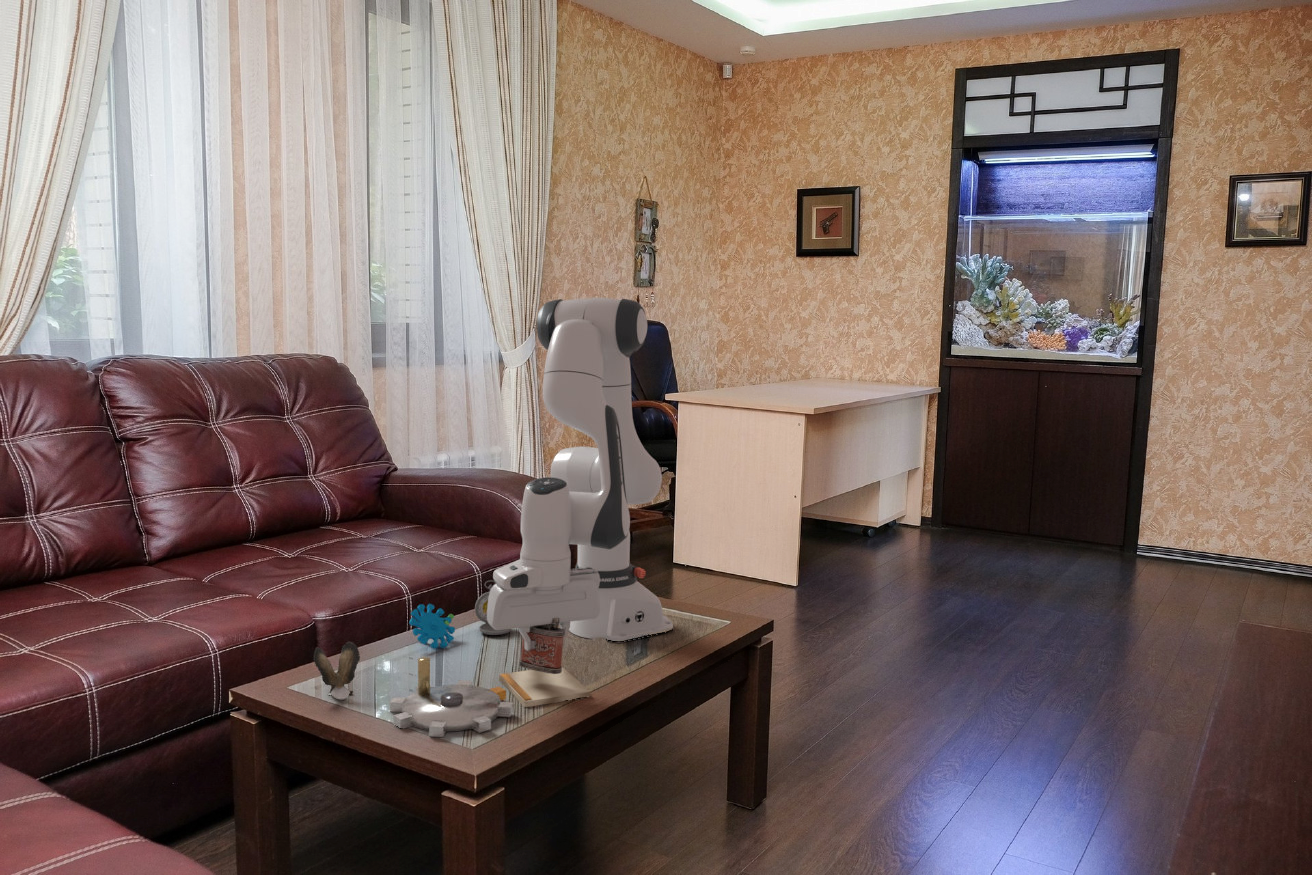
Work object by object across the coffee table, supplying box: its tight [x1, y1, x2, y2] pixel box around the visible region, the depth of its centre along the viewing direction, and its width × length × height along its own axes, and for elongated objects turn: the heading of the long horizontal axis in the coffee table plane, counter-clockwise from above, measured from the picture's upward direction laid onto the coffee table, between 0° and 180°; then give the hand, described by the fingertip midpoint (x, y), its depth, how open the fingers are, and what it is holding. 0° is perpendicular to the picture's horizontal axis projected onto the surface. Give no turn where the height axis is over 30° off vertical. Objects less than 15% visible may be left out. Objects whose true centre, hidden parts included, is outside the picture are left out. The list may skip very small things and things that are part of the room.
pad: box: [498, 666, 591, 708], centre depth 180 cm, size 12×14×1 cm
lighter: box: [519, 618, 566, 674], centre depth 179 cm, size 8×3×10 cm, turn 68°
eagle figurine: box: [313, 640, 361, 701], centre depth 173 cm, size 8×7×9 cm
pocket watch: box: [474, 579, 512, 636], centre depth 212 cm, size 8×8×10 cm
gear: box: [408, 603, 456, 650], centre depth 203 cm, size 11×6×10 cm
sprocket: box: [389, 656, 514, 738], centre depth 168 cm, size 20×20×8 cm
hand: (544, 647), depth 180 cm, fingers closed on lighter, 4 cm apart
